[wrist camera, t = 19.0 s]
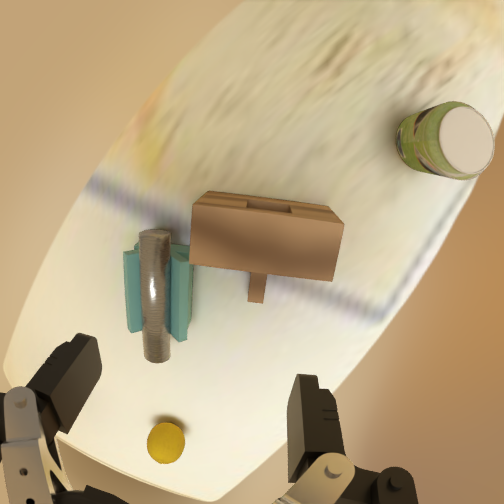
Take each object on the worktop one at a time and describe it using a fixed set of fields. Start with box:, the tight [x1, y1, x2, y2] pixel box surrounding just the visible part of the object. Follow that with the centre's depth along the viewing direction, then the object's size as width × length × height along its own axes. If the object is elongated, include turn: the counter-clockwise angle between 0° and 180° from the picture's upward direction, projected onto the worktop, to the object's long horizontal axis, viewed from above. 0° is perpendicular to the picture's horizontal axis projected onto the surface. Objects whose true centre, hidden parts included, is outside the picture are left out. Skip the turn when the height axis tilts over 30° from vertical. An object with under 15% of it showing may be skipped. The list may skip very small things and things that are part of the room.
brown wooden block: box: [189, 191, 344, 303], centre depth 29 cm, size 10×12×7 cm
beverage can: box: [396, 101, 495, 180], centre depth 22 cm, size 6×7×12 cm
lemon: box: [147, 422, 185, 464], centre depth 39 cm, size 6×6×8 cm
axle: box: [139, 229, 171, 363], centre depth 31 cm, size 14×3×3 cm, turn 173°
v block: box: [123, 242, 193, 342], centre depth 32 cm, size 9×7×5 cm
